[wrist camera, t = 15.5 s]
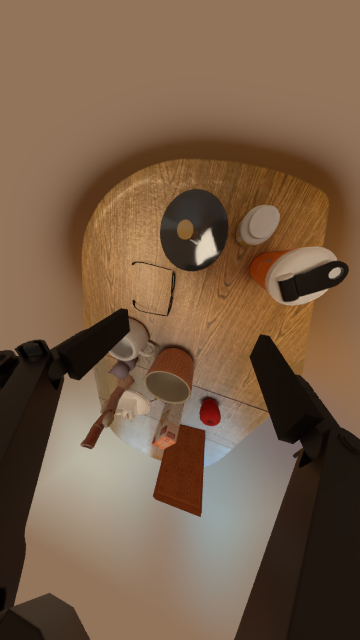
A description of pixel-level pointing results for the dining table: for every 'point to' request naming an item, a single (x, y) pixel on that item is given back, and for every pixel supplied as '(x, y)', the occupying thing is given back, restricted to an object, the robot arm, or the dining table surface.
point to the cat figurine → (123, 368)
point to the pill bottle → (257, 225)
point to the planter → (170, 376)
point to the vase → (107, 413)
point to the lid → (194, 230)
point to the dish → (132, 404)
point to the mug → (133, 343)
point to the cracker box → (168, 426)
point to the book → (183, 471)
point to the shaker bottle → (298, 273)
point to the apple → (210, 413)
